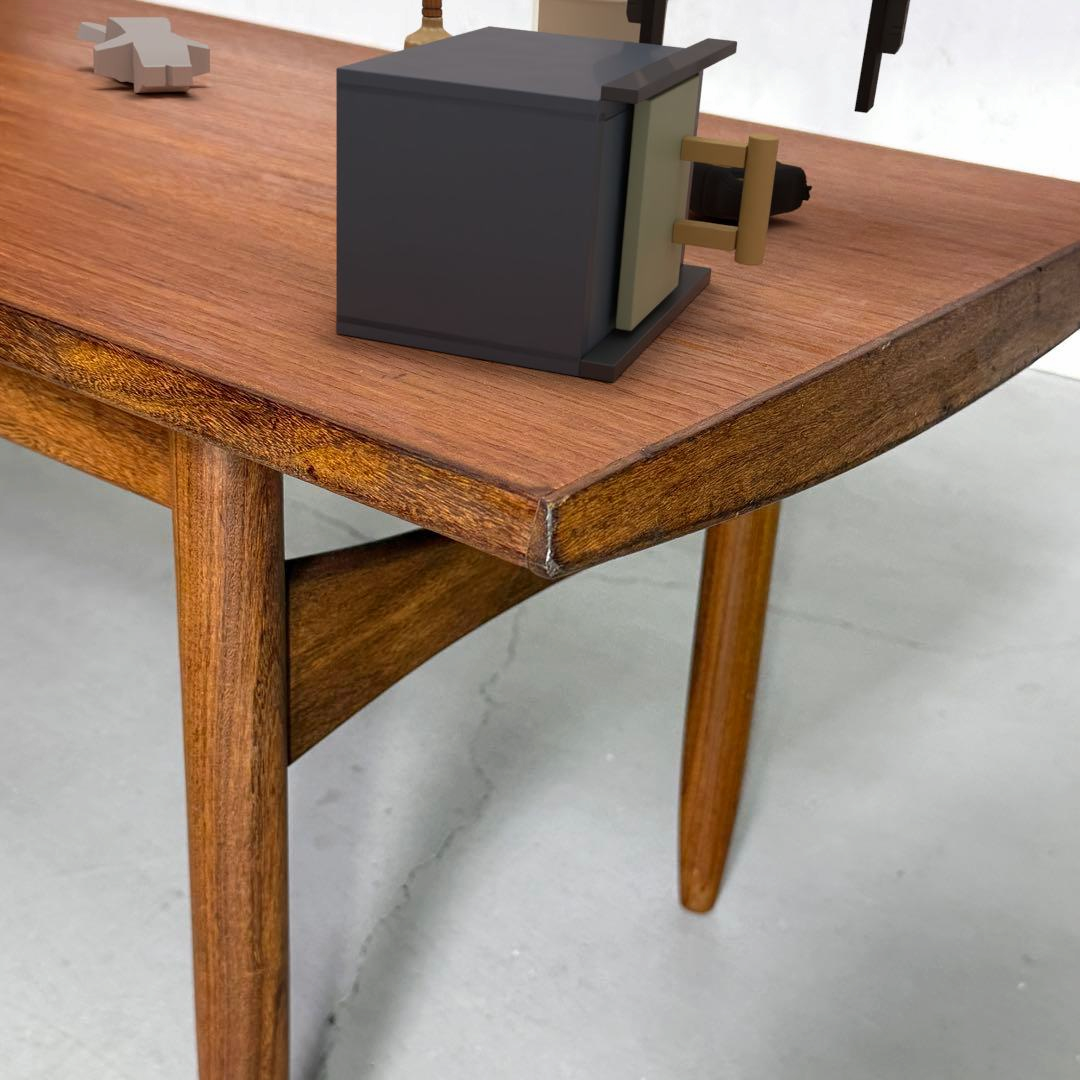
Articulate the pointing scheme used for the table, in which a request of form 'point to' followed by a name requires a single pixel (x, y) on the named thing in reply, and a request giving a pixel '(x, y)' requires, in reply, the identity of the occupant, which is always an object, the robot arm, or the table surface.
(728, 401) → the table surface
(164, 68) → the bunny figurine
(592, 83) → the cabinet
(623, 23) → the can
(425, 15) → the hand bell
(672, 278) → the door
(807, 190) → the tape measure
